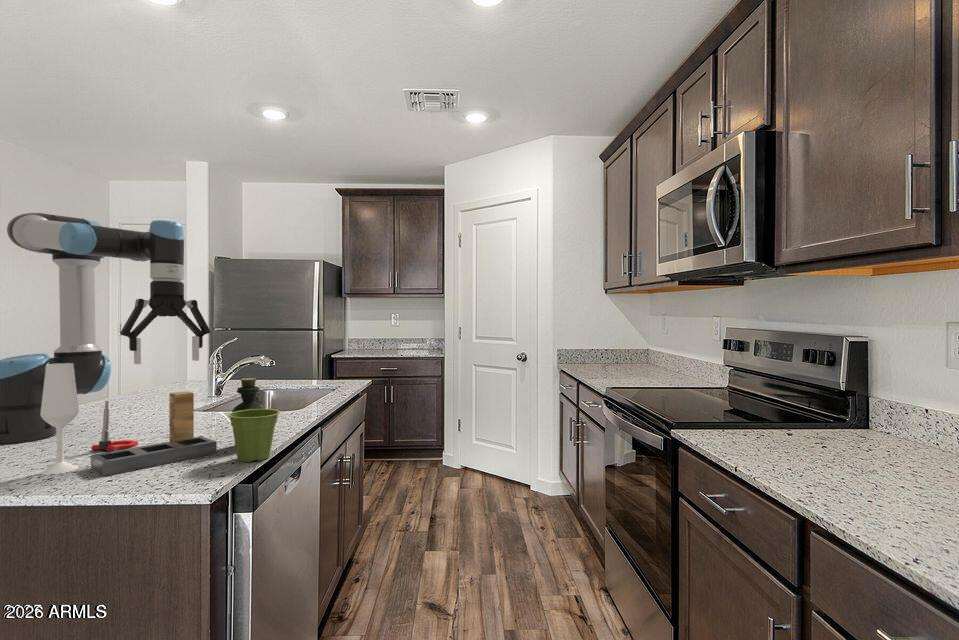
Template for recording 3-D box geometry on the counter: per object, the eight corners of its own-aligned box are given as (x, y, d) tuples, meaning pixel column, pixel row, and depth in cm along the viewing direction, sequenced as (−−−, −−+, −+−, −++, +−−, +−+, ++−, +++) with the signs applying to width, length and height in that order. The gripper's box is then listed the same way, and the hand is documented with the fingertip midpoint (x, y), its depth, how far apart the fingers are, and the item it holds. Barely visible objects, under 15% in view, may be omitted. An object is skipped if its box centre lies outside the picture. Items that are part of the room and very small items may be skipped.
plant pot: (274, 464, 120) (274, 416, 120) (220, 466, 118) (220, 418, 118) (284, 450, 132) (284, 407, 132) (236, 452, 130) (236, 408, 130)
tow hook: (118, 443, 140) (87, 450, 131) (120, 396, 141) (90, 400, 132) (145, 445, 139) (116, 452, 130) (147, 397, 139) (118, 402, 130)
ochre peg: (169, 444, 138) (169, 393, 138) (186, 441, 141) (186, 391, 141) (176, 447, 135) (175, 394, 135) (193, 444, 138) (193, 392, 138)
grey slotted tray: (90, 468, 116) (90, 455, 116) (201, 447, 135) (201, 436, 135) (103, 476, 111) (102, 462, 111) (216, 453, 129) (216, 441, 129)
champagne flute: (83, 464, 119) (83, 362, 119) (72, 473, 113) (71, 365, 113) (48, 467, 117) (48, 363, 116) (34, 476, 110) (34, 366, 110)
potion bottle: (224, 448, 134) (224, 380, 134) (243, 441, 142) (243, 376, 142) (253, 450, 133) (253, 381, 132) (270, 442, 141) (270, 377, 140)
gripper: (114, 277, 121) (114, 366, 121) (222, 282, 140) (223, 359, 140) (105, 279, 126) (106, 364, 126) (211, 283, 145) (211, 358, 145)
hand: (167, 362), depth 133 cm, fingers open, 13 cm apart
